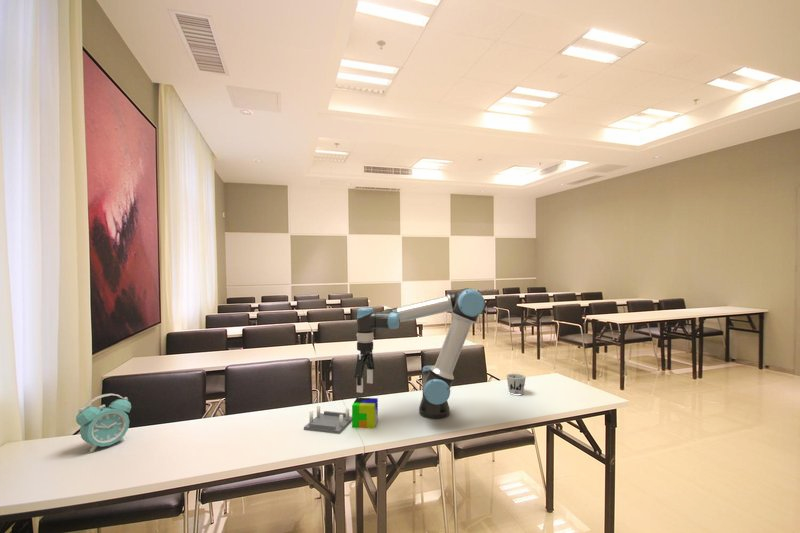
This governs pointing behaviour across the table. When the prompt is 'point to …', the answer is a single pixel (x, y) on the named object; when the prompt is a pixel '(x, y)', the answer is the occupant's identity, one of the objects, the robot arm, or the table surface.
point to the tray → (329, 421)
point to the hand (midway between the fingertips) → (365, 387)
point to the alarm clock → (104, 422)
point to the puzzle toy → (365, 413)
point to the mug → (516, 383)
